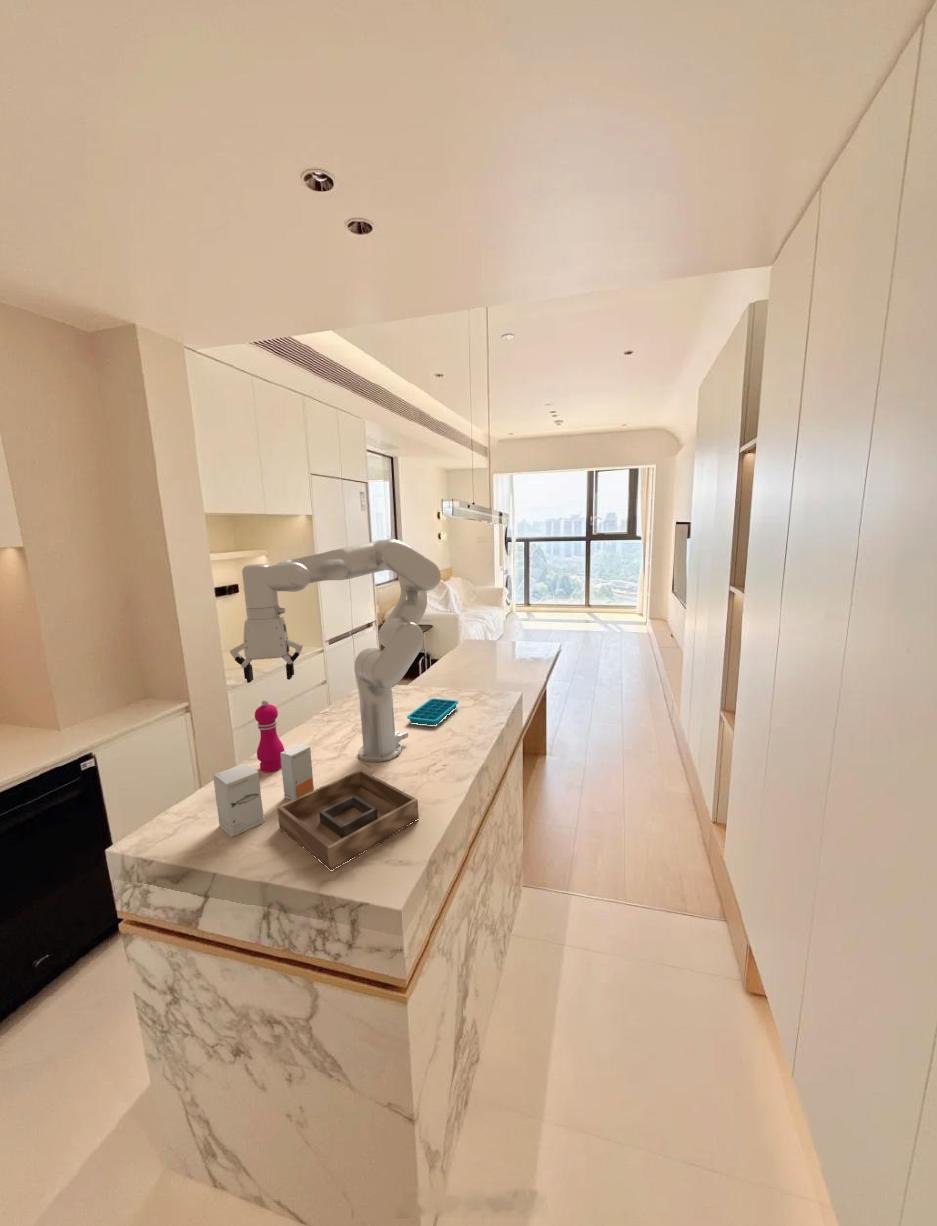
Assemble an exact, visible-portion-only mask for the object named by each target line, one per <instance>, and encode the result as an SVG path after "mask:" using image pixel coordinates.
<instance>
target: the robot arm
mask: <svg viewBox="0 0 937 1226" xmlns="http://www.w3.org/2000/svg"><path fill="white" fill-rule="evenodd" d="M382 571H392V572H394V573H395V574H397V579H398V583H399V587H400V597H399V599H398V601H397V602H396V604H395V606H394V607H393V610H391V612H390V614H388V615H389V616H388V617H387V618H386V619H385V621H384V622H383V624H381V626H380V628H379V631H378V633H377V637H378V641H379V643H380V644H381V645H382V646H383V647H384V648H383V650H381V649H378V648H375V647H369V648H368V647H367V648H365V649H363V650H362V651H361V650H360V652H359V653H358V655H357V656H356V657H355V660H354V664H353V665H354V674H355V679H356V680H355V681H356V683H357V690H358V698H359V699H358V700H359V709H360V710H359V711H360V723H361V724H360V725H361V734H362V746H361V747H360V748H359V749H358V755H357V756H358V758H359V759H361V760H363V761H364V762H369V763H381V762H386V761H389V760H392V759H394V758H396V757H398V756H399V755H400V754H401V752H402V745H401V744H400V742H401V741H402V740H404V739H407V738H409V732H408V731H404V732H401V733H400V732H399V731H396V728H395V727H396V726H395V714H394V713H395V712H394V698H393V690H392V689H393V687H396V686H397V685H398V684H399V683H400V682H401V681H402V679H403V678H404V677H405V675H406V673H407V672H408V670H409V668H410V667H411V666H412V664H413V663H414V661H415V659H416V658H417V657H418V655H419V653H420V651H421V649H422V647H423V643H424V632H423V630H422V628H421V626H419V623H420V621H422V618H423V617H424V614H425V613H426V610H427V606H428V595H427V594H428V591H432V590H434V589H435V588H437V587H438V585H440V582H441V579H442V577H441V576H442V575H441V570H440V568H439V567H438V565H437V564H436V563H435V562H433V561H432V560H431V559H429V558H428V557H426V556H424V555H423V554H421V553H420V552H418V551H417V550H415V549H414V548H413V547H411V546H409V545H408V544H406V543H405V542H403V541H401V540H398V539H380V540H375V541H371V542H366V543H360V544H357V545H352V546H346V547H342V548H341V547H340V548H337V549H332V550H329V551H325V552H322V553H316V554H311V555H307V556H302V557H296V558H291V559H287V560H282V561H280V562H278V563H277V564H273V565H272V564H270V563H260V564H259V563H256V564H247V565H245V566H244V567H242V571H241V572H242V573H241V574H242V575H241V576H242V583H243V591H244V600H245V601H244V602H245V613H246V619H245V620H244V625H243V643H242V644H240V645H237V646H236V647H234V648H233V649H231V650H230V651H229V653H230V655H231V656H232V658H233V659H234V661H235V662H236V663H238V664H239V665H240V666H241V668H242V669H243V675H244V679H245V680H246V683H247V684H248V683H251V682H252V681H253V680H254V672H253V671H254V670H253V665H252V664H251V662H252V661H253V660H255V661H256V660H265V659H266V660H270V659H280V658H282V659H283V660H284V661H285V662H286V664H285V670H286V671H285V673H286V680H289V681H290V680H291V679H292V678H293V676H294V675H295V667H294V665H295V664H294V662H295V661H296V660H297V659H298V658H299V656H300V654H301V652H302V649H303V647H304V645H303V644H301V643H299V642H296V641H293V640H291V639H289V635H288V630H287V625H286V621H285V618H284V617H283V616H281V615H282V614H286V607H281V606H280V605H279V595H278V592H290V593H291V592H293V593H296V592H300V591H302V590H304V589H305V588H306V587H308V585H310V584H313V583H318V582H323V581H325V582H327V581H344V580H351V579H353V578H354V579H355V578H359V577H363V576H366V575H370V574H374V573H378V572H382ZM291 648H293V649H295V650H294V651H295V652H294V654H291V653H290V651H291V650H290V649H291ZM242 650H244V651H243V652H244V657H245V658H244V657H243V656H241V655H240V652H241V651H242ZM399 753H400V754H399ZM397 755H398V756H397Z"/></svg>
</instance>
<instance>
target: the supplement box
mask: <svg viewBox="0 0 937 1226" xmlns="http://www.w3.org/2000/svg"><path fill="white" fill-rule="evenodd" d="M259 774H260V773H259V771H258V770H256V769H255V768H253V767H252V766H250V765H249V764H248V763H246V762H245V763H242V764H240V765H236V766H234V767H231V768H228V769H226V770H225V769H224V770H223V771H220V772H218V773H214V774H213V776H212V778H213V785H214V792H215V801H216V808H217V817H218V824H219V825H218V826H220V827H221V829H222V830H223V831H225V833H227V835H228V836H230V838H234V837H235V836H237V835H239V834H242V833H243V832H247V831H249V830H250V829H253V828H254V827H257V826H259V825H261V824H262V825H263V824H264V822H265V817H264V811H263V802H262V801H263V800H262V795H261V794H262V792H261V791H262V790H261V784H260V775H259ZM233 836H234V837H233Z"/></svg>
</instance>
